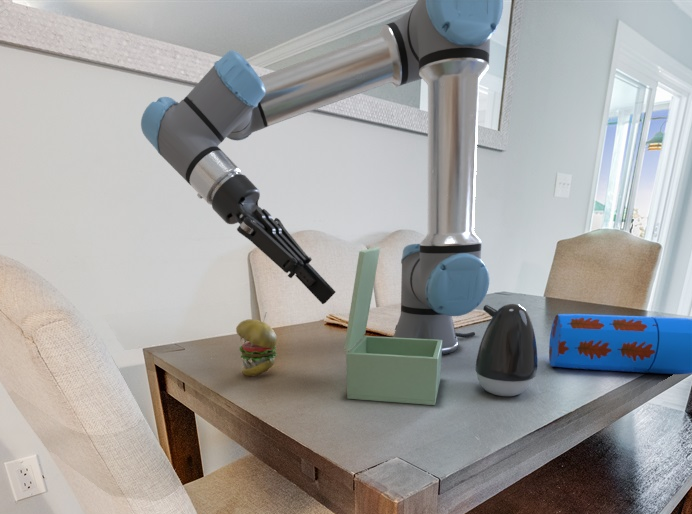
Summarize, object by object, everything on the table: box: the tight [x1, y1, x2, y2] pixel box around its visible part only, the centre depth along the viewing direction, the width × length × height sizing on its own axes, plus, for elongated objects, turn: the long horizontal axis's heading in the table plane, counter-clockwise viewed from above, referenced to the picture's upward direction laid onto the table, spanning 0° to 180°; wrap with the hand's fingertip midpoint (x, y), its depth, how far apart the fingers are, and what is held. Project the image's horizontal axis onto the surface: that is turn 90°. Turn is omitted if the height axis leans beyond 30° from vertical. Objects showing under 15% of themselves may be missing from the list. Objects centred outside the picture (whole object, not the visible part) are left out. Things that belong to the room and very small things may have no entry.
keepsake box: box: [345, 335, 443, 406], centre depth 80 cm, size 15×13×8 cm
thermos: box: [548, 313, 692, 375], centre depth 91 cm, size 11×11×25 cm
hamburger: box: [235, 311, 278, 377], centre depth 86 cm, size 8×7×12 cm
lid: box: [343, 246, 381, 352], centre depth 76 cm, size 15×13×1 cm
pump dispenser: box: [474, 303, 538, 397], centre depth 78 cm, size 10×10×15 cm
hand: (329, 298), depth 78 cm, fingers closed
